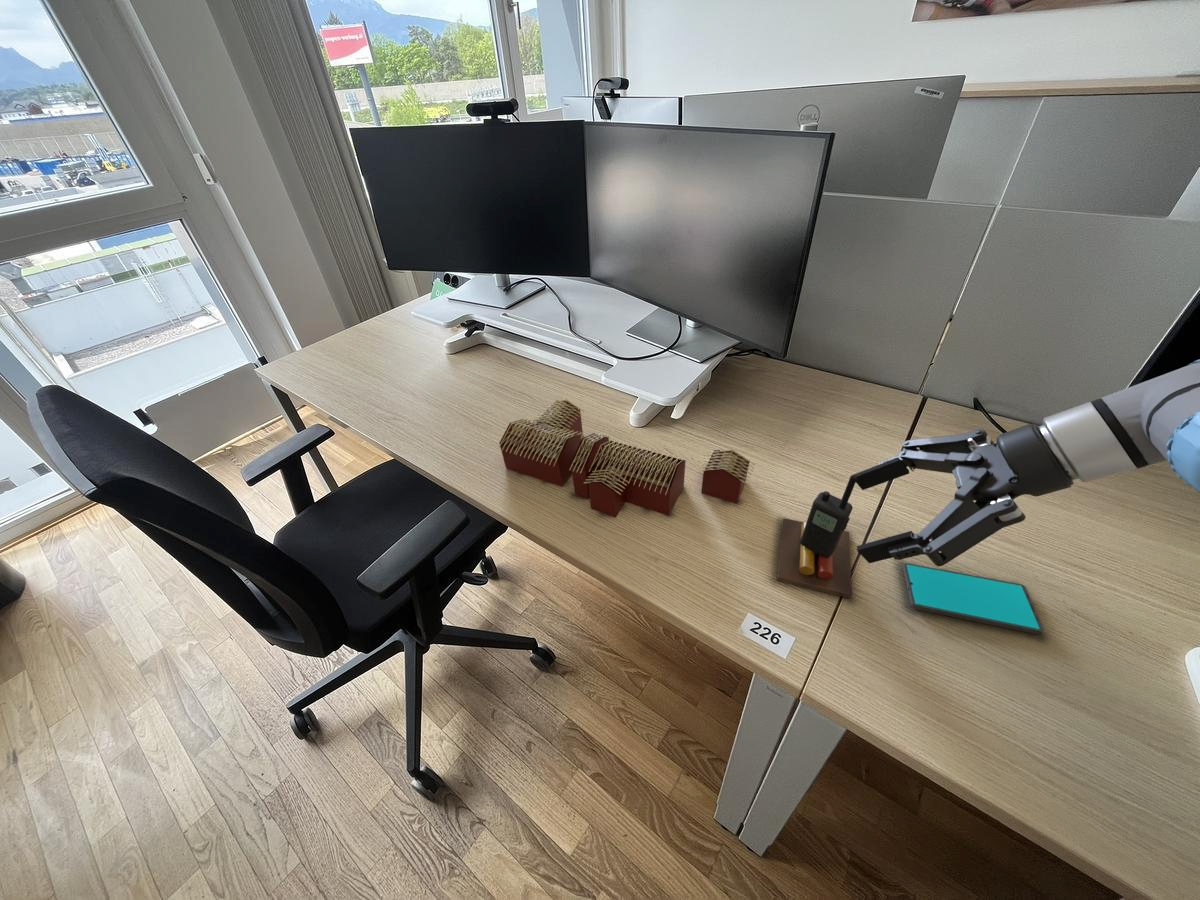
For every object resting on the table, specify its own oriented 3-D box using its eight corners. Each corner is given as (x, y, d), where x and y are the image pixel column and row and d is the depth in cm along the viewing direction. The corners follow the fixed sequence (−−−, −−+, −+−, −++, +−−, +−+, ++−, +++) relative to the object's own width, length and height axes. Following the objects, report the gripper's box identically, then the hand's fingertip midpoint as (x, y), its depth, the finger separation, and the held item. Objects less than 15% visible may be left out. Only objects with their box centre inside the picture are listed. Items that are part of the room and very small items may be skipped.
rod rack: (847, 535, 74) (852, 523, 72) (850, 598, 66) (856, 587, 64) (782, 521, 77) (785, 509, 75) (776, 580, 69) (780, 568, 67)
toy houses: (497, 477, 90) (486, 437, 84) (552, 419, 104) (546, 380, 97) (725, 554, 73) (733, 511, 66) (755, 472, 87) (764, 430, 80)
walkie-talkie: (798, 543, 70) (822, 471, 60) (807, 530, 72) (832, 458, 62) (830, 560, 67) (860, 488, 58) (839, 546, 69) (870, 473, 59)
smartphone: (1045, 632, 59) (913, 604, 63) (1041, 635, 60) (911, 608, 64) (1024, 584, 65) (903, 561, 69) (1021, 587, 65) (901, 565, 69)
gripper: (1126, 567, 41) (883, 610, 55) (1036, 410, 59) (869, 473, 73) (1089, 514, 39) (847, 573, 54) (1007, 369, 57) (841, 442, 71)
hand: (859, 516), depth 63 cm, fingers open, 13 cm apart
